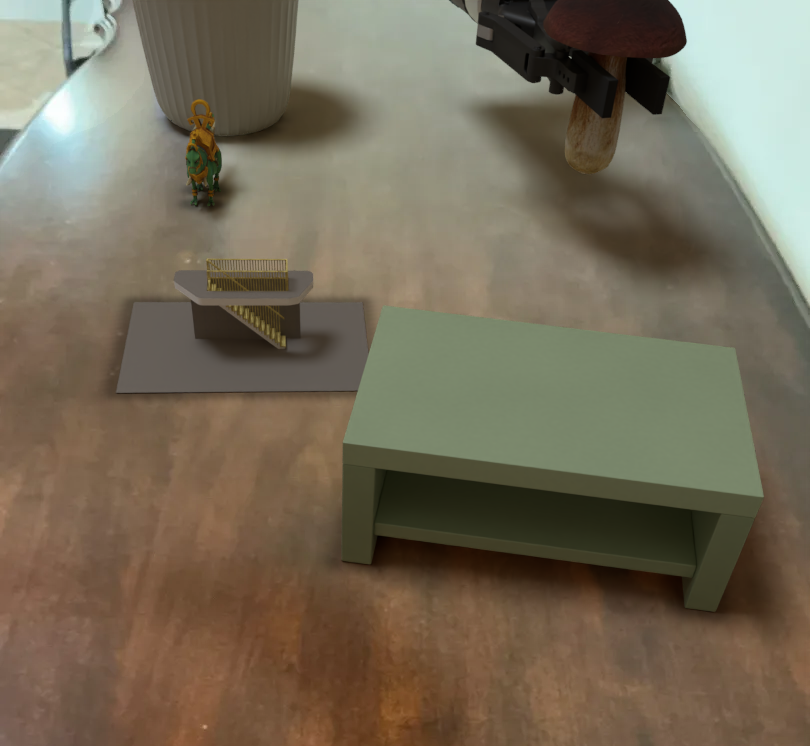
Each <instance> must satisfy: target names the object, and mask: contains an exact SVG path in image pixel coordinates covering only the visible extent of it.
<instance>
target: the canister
mask: <svg viewBox="0 0 810 746" xmlns="http://www.w3.org/2000/svg"><path fill="white" fill-rule="evenodd" d="M131 2H132V6H133V9H134V13H135V19H136V23H137V29H138V32H139V37H140V41H141V45H142V49H143V54H144V58H145V62H146V65H147V69H148V74H149V77H150V81H151V86H152V88H153V92H154V96H155V98H156V101H157V104H158V106H159V108H160V109H161V111H162V113H163V114H164V116H165V117H166V118H167V119H168V120H169V121H170V122H172V123H173V124H174V125H176V126H178V127H179V128H181V129H185V130H186V131H188V132H192V131H193V129H194V127H195V123H194V124H192V125H190V124H189V122H188V120H187V119H188V118H190V117H192V116H194V115H193V113H192V111H191V105H192V103H193V102H194V101H195V100H198V99H201V100H204V101H205V102H207V103H208V105H209V106H210V110H211V111H210V112H212V113H213V114H214V120H215V121H214V122H215V130H214V133H215V134H214V136H218V137H231V136H232V137H233V136H242V135H244V136H245V135H247V134H254V133H255V132H256V133H257V132H261V131H262V130H265V129H268V128H269V127H271V126H274V124H276V123H277V122H279V120H280V119H281V118H282V117H283V115H284V113H285V111H286V110H287V106H288V103H289V100H290V95H291V88H292V79H293V70H294V69H293V68H294V62H295V61H294V60H295V59H294V58H295V49H296V36H297V27H298V26H297V24H298V12H299V0H131ZM195 111H196V115H199V114H203V115H206V108H205V106H204V105H202V104H197V105H196V107H195ZM199 119H200V122H201V124H202V123H203V120H204V119H201V118H199ZM171 120H172V121H171ZM191 121H192V122H194V121H193V120H191Z"/></svg>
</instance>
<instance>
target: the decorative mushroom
mask: <svg viewBox="0 0 810 746" xmlns="http://www.w3.org/2000/svg"><path fill="white" fill-rule="evenodd" d="M543 27H544V30H545V31H546V33H547V34H548V35H549V36H550V37H551V38H552V39H554V40H556V41H558V42H560V43H563V44H565V45H567V46H570V47H573V48H576V49H580V50H583V51H587V52H589V53H588V56H589V57H591V58H592V59H593V60H594V61H596V62H597V63H598V64H599V65H600V66H602V67H603V68H604V69H605V70H607V71H608V72H609V73H610V74H611V75H613V76H614V77H615V78H616V79H618V85H617V90H616V95H615V100H614V106H613V111H612V116H611V118H601V117H600V116H599V115H598V114H597V113H595V112H594V111H593V110H592V109H591V108H590V107H589V106H588V105H587V104H585V103H584V102H583V101H582V100H581V99H580V98H579V97H578V96H577V95H575V97H574V100H573V102H572V108H571V111H570V116H569V120H568V125H567V130H566V135H565V141H564V156H565V160H566V162H567V165H568V166H569V167H571V168H572V169H573V170H574V171H576V172H579V174H583V175H595V174H597V173H599V172H601V171H603V170H605V169H607V168H608V167H609V165H610V164H611V163H612V161H613V159H614V156H615V154H616V150H617V146H618V143H619V142H618V141H619V136H620V131H621V126H622V119H623V112H624V105H625V97H626V92H625V89H626V87H625V85H626V63H627V57H635V58H653V59H664V58H669V57H673V56H676V54H678V53H679V52H681V51H682V50H684V48H685V47H686V46H687V43H688V40H687V39H688V38H687V32H686V28H685V24H684V22H683V18H682V16H681V15H680V12H679V11H678V9H677V8H676V7H675V6H674V4H673V3H672V2H671V1H670V0H558V1H556V2H555V4H554V5H553V7H552V8H551V9H550V11H549V13H548V14H547V16H546V18H545V19H544V21H543Z"/></svg>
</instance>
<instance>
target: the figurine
mask: <svg viewBox="0 0 810 746" xmlns="http://www.w3.org/2000/svg"><path fill="white" fill-rule="evenodd" d="M197 104H202V105H204V106H205V108H206V115H203V114H199V115H196V111H195V107H196V105H197ZM191 111H192V113H193V115H194V116H192V117H190V118H188V119H187V120H188V122H189V124H190V125H192V124H194V123H195V127H194V129H193V131H190V133H189V138H188V139H189V141H188V142H187V146H186V148H185V150H186V154H185V157H184V160H185V163H186V164H185V165H186V175H187V181H186V183H185V185H186V186H190V185H191V195H192V198H193V199H192V200H191V201H190V202H189V203H190V205H193V204H194V206H197V205H198V196H199V192H198V191H203V190H204V188H203V187H207V186H208V189H207V197H208V201H207V207H210V206H211V205H212V206H215V201H214V200H213V197H214V195H215V194H214V192H215V193H217V192H218V193H221V191H222V189H221V187H220V184H219V180H220V173H221V171H222V168H223V156H222V151H221V149H220V147H219V146H218V144H217V142H216V138H215V135H214V134H215V133H214V130H215V122H214V121H215V120H214V114H213V113H212V112H210V111H211V110H210V106H209V105H208V103H207V102H205V101H204V100H201V99H198V100H195V101H194V102H193V103H192V105H191ZM199 118H201V119H204V120H203V123H202V124H201V122H200V119H199ZM191 120H193V121H194V122H192V121H191Z"/></svg>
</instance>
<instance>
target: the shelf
mask: <svg viewBox="0 0 810 746" xmlns="http://www.w3.org/2000/svg"><path fill="white" fill-rule="evenodd" d="M753 438H754V437H753V432H752V427H751V423H750V417H749V412H748V407H747V401H746V396H745V392H744V386H743V381H742V376H741V371H740V365H739V360H738V355H737V350H736V347H732V346H725V345H723V346H722V345H715V344H706V343H699V342H692V341H691V342H689V341H681V340H674V339H664V338H657V337H648V336H640V335H633V334H632V335H631V334H624V333H615V332H609V331H608V332H606V331H598V330H591V329H582V328H574V327H567V326H566V327H565V326H557V325H550V324H542V323H534V322H533V323H532V322H525V321H516V320H510V319H509V320H508V319H499V318H491V317H483V316H475V315H467V314H459V313H452V312H451V313H450V312H443V311H433V310H426V309H418V308H410V307H403V306H402V307H401V306H393V305H386V304H385V305H382V307H381V310H380V314H379V317H378V321H377V323H376V328H375V331H374V334H373V338H372V340H371V344H370V347H369V350H368V358H367V361H366V365H365V368H364V371H363V375H362V378H361V382H360V385H359V389H358V391H356V396H355V399H354V402H353V406H352V409H351V413H350V416H349V420H348V423H347V426H346V429H345V433H344V436H343V440H342V454H341V455H342V458H341V459H342V460H341V461H342V462H341V463H342V472H341V474H342V481H341V491H342V492H341V545H340V546H341V548H340V549H341V552H340V553H341V555H340V557H341V561H342V562H349V563H354V564H355V563H357V564H362V565H371V564H372V563H373V558H374V554H375V550H376V544H377V539H378V536H380V537H387V538H394V539H401V540H409V541H415V542H416V541H417V542H425V543H431V544H440V545H446V546H453V547H461V548H468V549H469V548H470V549H476V550H483V551H491V552H496V553H497V552H498V553H506V554H513V555H521V556H526V557H527V556H528V557H536V558H542V559H550V560H558V561H565V562H570V563H571V562H572V563H580V564H587V565H595V566H603V567H610V568H616V569H622V570H623V569H624V570H631V571H638V572H647V573H654V574H660V575H667V576H675V577H681V582H682V592H683V593H682V594H683V605H684V608H685V609H691V610H696V611H697V610H698V611H706V612H711V613H712V612H713V613H715V612H716V611H717V609H718V608H719V605H720V602H721V600H722V598H723V595H724V593H725V590H726V588H727V586H728V583H729V581H730V578H731V576H732V574H733V571H734V570H735V567H736V564H737V562H738V560H739V558H740V555H741V553H742V551H743V548H744V545H745V543H746V540H747V539H748V537H749V534H750V531H751V528H752V526H753V525H754V521H755V519H756V517H757V515H758V513H759V510H760V508H761V505H762V503H763V501H764V498H765V494H764V490H763V485H762V478H761V474H760V468H759V464H758V458H757V454H756V449H755V444H754V443H755V442H754V439H753Z"/></svg>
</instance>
